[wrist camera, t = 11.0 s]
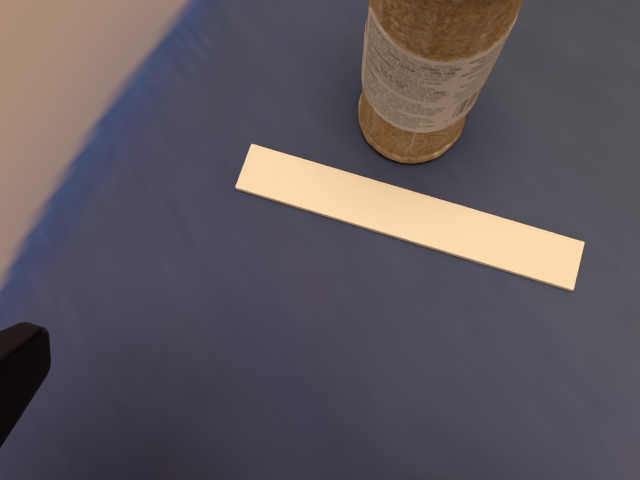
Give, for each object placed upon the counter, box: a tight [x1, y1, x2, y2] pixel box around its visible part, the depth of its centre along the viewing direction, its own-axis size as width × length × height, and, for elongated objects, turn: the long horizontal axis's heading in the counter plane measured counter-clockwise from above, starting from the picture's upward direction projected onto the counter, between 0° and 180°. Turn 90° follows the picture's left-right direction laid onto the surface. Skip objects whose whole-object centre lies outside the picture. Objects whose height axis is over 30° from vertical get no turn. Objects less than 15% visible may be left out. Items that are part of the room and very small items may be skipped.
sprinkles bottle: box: [358, 0, 523, 163], centre depth 19 cm, size 5×5×14 cm
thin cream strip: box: [235, 144, 585, 291], centre depth 24 cm, size 2×14×1 cm, turn 72°
